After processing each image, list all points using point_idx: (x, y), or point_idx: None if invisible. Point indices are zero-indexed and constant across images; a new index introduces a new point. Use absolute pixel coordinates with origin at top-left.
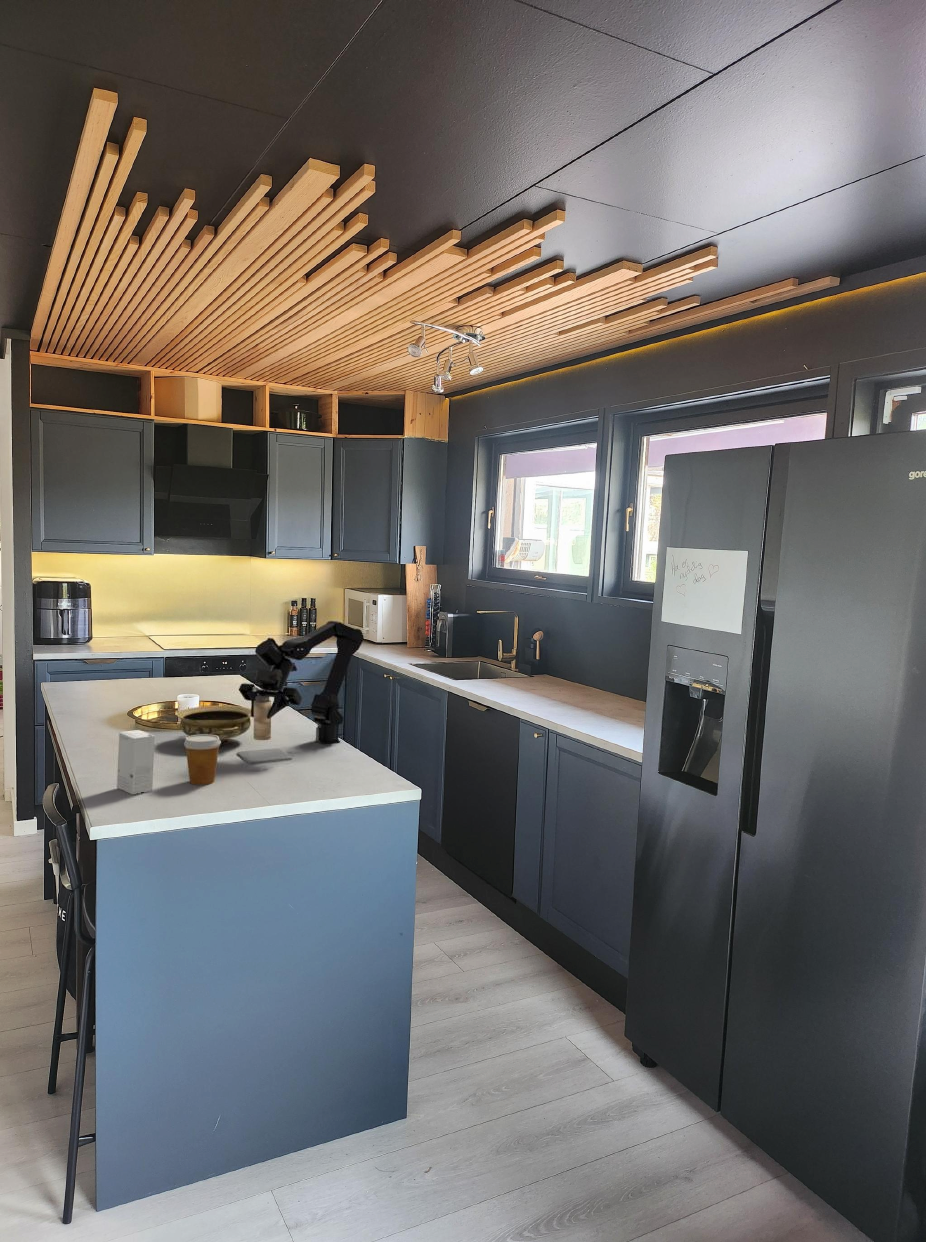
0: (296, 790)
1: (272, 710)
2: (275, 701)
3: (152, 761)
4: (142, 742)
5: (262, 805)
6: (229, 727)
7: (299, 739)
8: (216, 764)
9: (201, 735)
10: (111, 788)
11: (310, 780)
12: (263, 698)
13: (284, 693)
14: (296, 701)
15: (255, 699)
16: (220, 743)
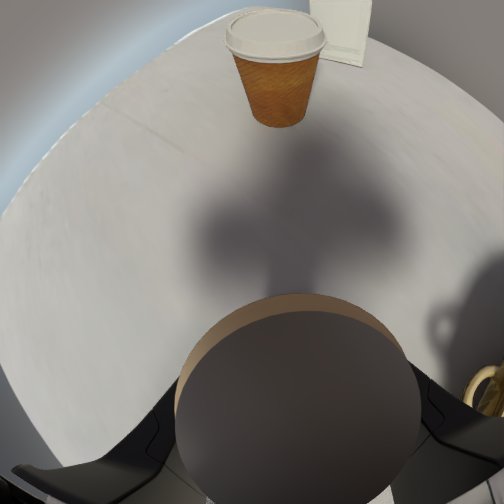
0: (78, 168)
1: (171, 388)
2: (136, 461)
3: (310, 13)
4: None
5: (110, 94)
6: (492, 408)
7: None
8: (249, 93)
9: (308, 37)
10: (369, 52)
11: (69, 236)
12: (215, 347)
13: (4, 484)
14: (37, 498)
15: (434, 435)
16: (228, 48)
